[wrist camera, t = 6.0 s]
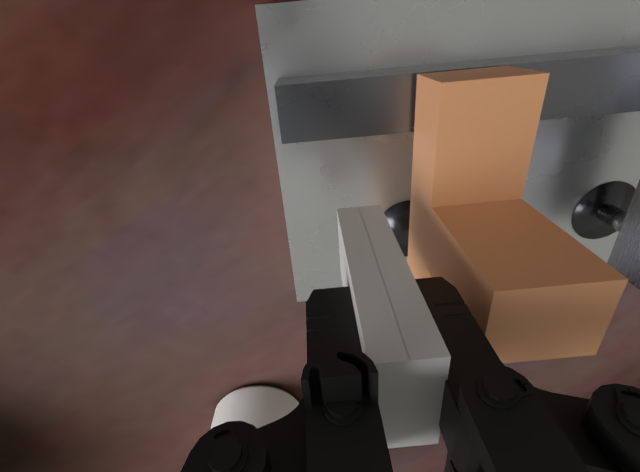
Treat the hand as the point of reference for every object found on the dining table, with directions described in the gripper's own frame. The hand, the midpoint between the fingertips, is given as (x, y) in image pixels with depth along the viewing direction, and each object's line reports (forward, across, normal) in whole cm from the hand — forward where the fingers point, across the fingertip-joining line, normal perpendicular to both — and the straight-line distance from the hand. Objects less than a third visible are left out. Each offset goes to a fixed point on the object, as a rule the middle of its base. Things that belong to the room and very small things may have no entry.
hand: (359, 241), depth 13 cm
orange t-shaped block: (+4, +4, +1) cm, 6 cm away
